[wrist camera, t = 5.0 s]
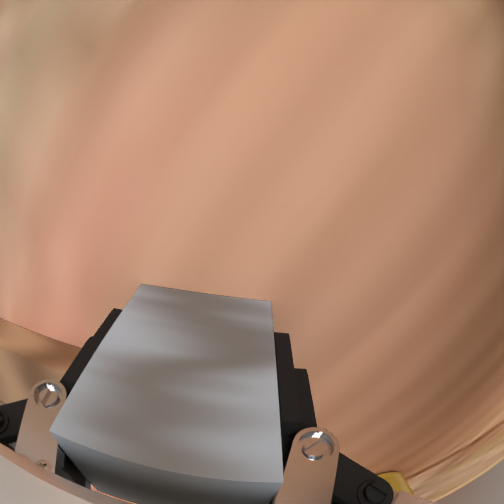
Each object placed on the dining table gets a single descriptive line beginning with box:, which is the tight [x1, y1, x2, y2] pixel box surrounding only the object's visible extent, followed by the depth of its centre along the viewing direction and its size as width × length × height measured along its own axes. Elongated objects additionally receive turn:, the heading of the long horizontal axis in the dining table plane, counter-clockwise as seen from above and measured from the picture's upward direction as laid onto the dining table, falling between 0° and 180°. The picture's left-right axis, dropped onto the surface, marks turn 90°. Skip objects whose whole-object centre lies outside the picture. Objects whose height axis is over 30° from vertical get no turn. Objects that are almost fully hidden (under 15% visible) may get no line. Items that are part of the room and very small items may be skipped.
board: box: [0, 318, 82, 405], centre depth 13 cm, size 24×9×2 cm, turn 83°
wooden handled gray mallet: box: [49, 284, 284, 504], centre depth 10 cm, size 5×13×7 cm, turn 173°
